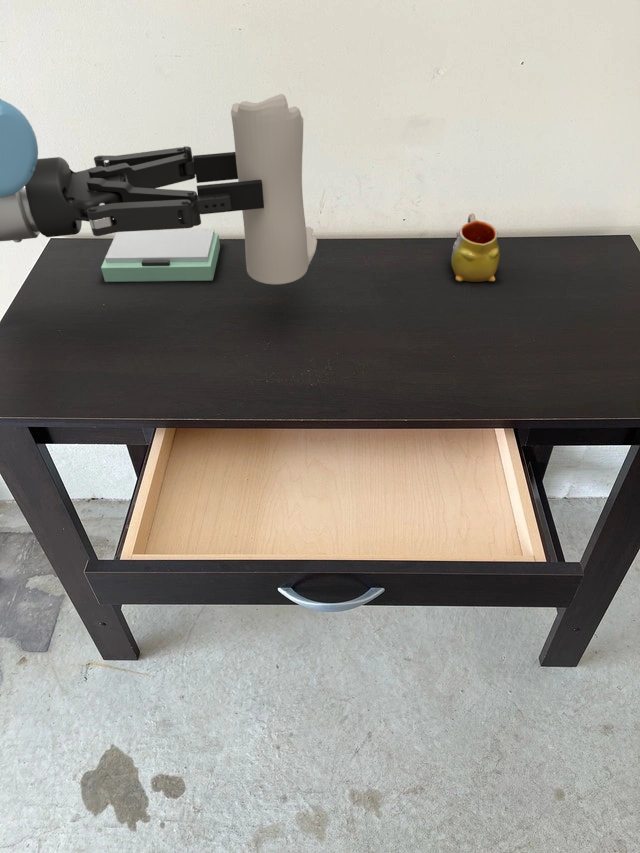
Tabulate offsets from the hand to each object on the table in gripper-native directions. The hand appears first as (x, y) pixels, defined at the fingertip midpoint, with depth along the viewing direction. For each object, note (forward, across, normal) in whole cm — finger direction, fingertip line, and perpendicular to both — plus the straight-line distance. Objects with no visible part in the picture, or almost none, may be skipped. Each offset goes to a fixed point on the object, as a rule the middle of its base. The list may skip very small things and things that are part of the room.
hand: (258, 178), depth 70 cm
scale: (-13, -24, -22) cm, 35 cm away
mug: (+32, -14, -22) cm, 42 cm away
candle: (+3, -3, -11) cm, 12 cm away
